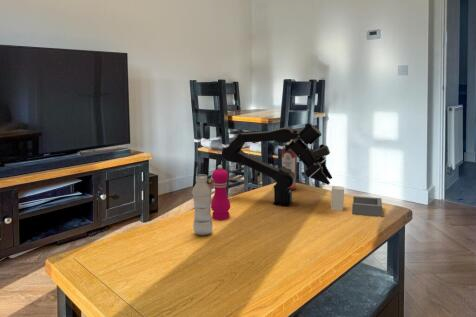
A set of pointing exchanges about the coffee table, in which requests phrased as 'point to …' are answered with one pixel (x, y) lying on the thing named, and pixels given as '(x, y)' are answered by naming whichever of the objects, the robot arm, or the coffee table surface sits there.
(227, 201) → the pepper mill
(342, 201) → the white rectangular block
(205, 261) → the coffee table surface
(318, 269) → the coffee table surface
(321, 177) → the robot arm
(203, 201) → the plastic bottle
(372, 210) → the frame
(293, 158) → the liquor
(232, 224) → the coffee table surface
